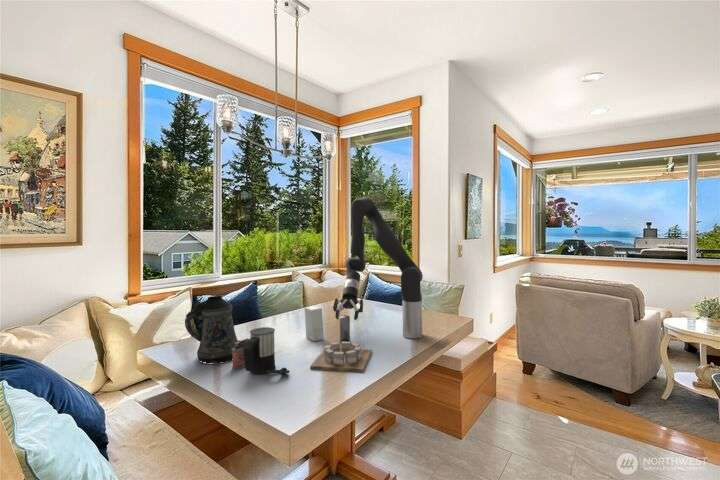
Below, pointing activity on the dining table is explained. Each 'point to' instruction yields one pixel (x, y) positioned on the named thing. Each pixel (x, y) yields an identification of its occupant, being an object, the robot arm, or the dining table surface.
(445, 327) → the dining table surface
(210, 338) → the beer stein
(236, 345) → the lighter
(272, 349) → the milk frother
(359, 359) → the castellated collar
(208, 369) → the dining table surface
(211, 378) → the dining table surface
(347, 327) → the metal pin
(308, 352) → the dining table surface
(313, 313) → the skincare box
